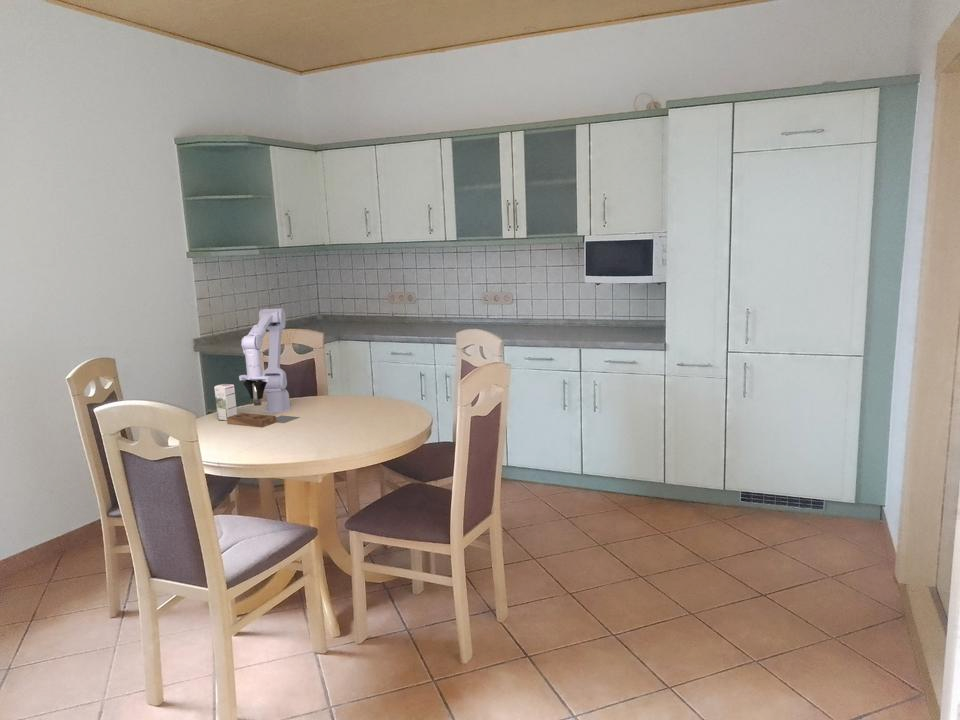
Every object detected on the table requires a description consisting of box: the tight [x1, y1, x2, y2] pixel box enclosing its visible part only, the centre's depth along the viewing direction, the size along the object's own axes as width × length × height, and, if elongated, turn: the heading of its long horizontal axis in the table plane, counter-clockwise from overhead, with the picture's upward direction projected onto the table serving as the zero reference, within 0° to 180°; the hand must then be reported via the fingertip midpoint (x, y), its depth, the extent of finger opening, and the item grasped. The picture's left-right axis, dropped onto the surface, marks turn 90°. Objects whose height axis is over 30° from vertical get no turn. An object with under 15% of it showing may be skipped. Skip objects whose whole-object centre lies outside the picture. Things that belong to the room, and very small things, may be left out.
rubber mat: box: [275, 415, 301, 424], centre depth 285 cm, size 10×10×1 cm
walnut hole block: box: [226, 412, 277, 429], centre depth 281 cm, size 8×18×3 cm, turn 65°
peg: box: [252, 382, 263, 407], centre depth 282 cm, size 3×3×9 cm
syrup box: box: [213, 383, 238, 422], centre depth 289 cm, size 6×6×14 cm
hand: (256, 398), depth 282 cm, fingers closed on peg, 3 cm apart
